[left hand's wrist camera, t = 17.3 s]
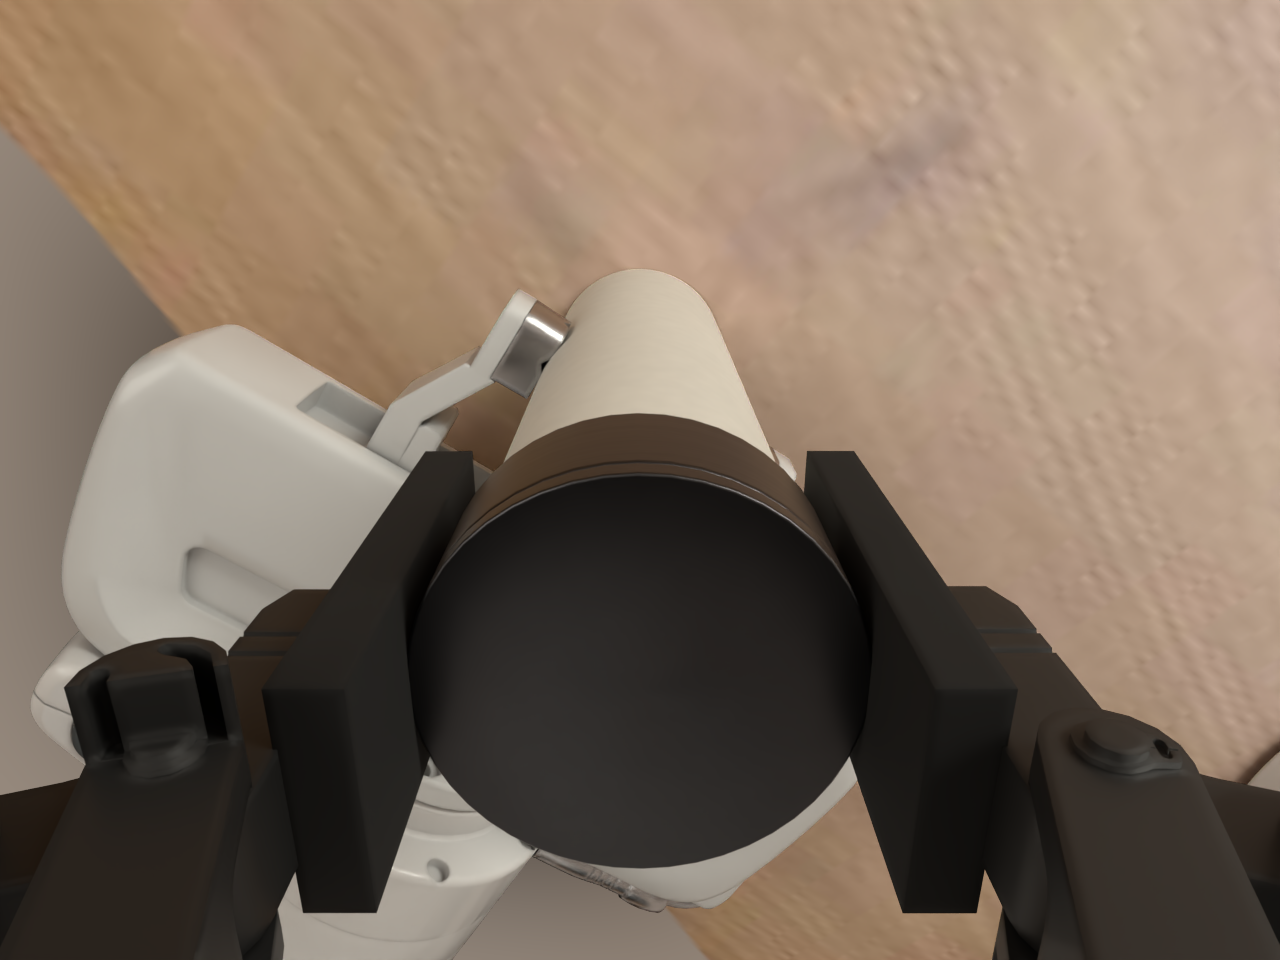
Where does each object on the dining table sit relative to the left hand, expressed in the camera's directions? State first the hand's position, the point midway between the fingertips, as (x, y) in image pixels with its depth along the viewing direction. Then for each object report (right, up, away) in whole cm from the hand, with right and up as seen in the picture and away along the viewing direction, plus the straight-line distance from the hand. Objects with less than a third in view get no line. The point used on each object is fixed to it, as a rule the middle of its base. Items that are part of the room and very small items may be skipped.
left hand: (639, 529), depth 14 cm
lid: (0, -1, -4) cm, 4 cm away
